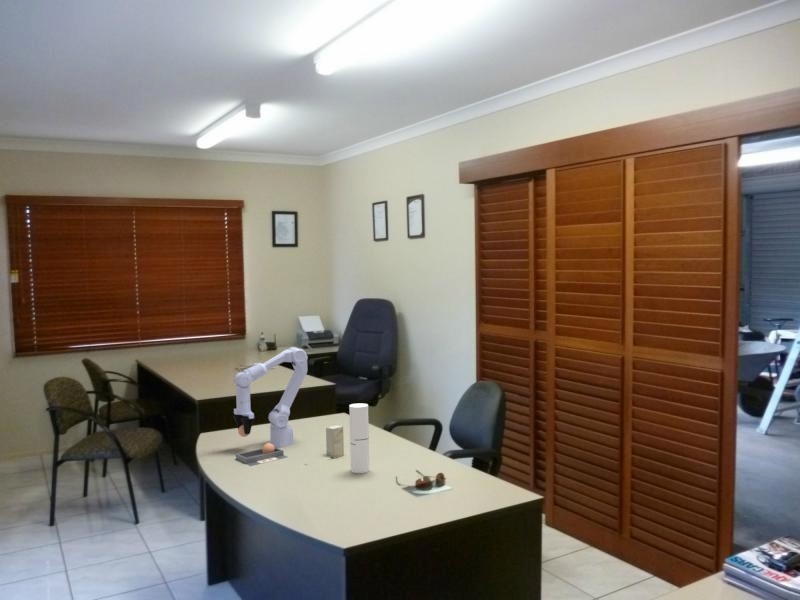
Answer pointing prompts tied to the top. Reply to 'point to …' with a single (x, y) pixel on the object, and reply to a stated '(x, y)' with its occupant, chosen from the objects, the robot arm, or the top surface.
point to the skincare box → (335, 441)
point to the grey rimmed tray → (259, 456)
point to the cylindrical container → (359, 438)
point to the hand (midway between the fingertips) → (244, 432)
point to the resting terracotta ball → (268, 448)
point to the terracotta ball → (242, 431)
